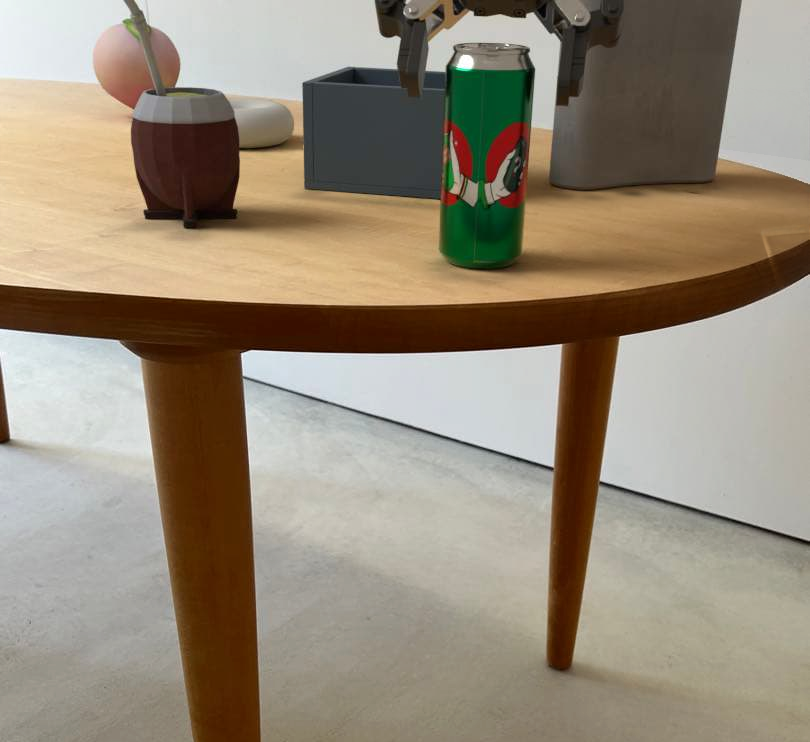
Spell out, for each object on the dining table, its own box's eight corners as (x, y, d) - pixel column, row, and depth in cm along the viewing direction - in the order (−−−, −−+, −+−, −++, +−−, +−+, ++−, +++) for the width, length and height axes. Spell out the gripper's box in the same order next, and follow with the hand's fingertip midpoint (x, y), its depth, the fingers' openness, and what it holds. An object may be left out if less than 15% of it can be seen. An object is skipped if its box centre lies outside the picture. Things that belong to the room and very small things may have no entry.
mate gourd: (242, 205, 79) (231, -30, 72) (243, 232, 72) (231, -26, 65) (135, 206, 78) (114, -33, 71) (126, 232, 72) (101, -29, 64)
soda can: (525, 253, 69) (541, 44, 64) (516, 274, 65) (531, 52, 59) (446, 247, 70) (454, 40, 65) (431, 267, 66) (439, 48, 60)
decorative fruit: (89, 112, 116) (78, 6, 111) (166, 109, 119) (158, 6, 115) (111, 125, 109) (100, 13, 104) (192, 121, 112) (185, 12, 107)
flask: (685, 168, 96) (722, -98, 86) (726, 181, 91) (771, -99, 82) (532, 177, 91) (554, -105, 81) (568, 192, 86) (595, -106, 76)
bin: (481, 172, 92) (486, 73, 89) (451, 200, 83) (456, 91, 79) (347, 162, 95) (347, 66, 91) (304, 188, 85) (301, 82, 81)
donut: (306, 151, 100) (282, 131, 108) (305, 110, 98) (281, 93, 106) (194, 154, 97) (179, 133, 105) (192, 113, 95) (176, 95, 104)
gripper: (396, -191, 65) (355, 40, 60) (643, -187, 63) (620, 52, 58) (408, -85, 72) (372, 128, 67) (630, -79, 70) (609, 141, 66)
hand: (487, 93), depth 63 cm, fingers open, 8 cm apart
